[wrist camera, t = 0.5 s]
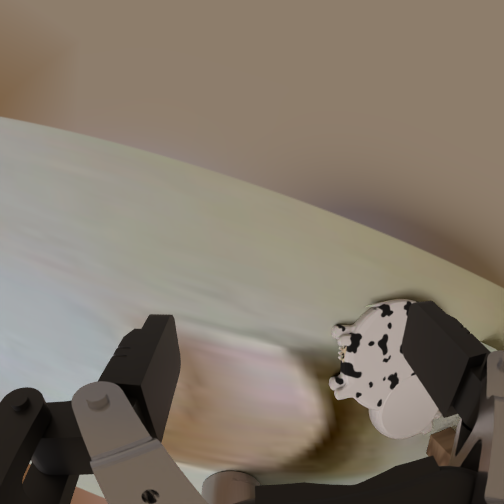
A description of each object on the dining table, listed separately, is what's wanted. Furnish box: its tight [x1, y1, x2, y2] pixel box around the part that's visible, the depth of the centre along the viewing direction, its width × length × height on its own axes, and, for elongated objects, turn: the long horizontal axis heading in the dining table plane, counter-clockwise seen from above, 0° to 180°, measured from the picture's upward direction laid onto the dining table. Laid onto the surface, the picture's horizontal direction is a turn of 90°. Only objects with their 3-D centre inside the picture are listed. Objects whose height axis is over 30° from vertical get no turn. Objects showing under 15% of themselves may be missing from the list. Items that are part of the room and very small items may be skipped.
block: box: [426, 427, 456, 466], centre depth 36 cm, size 4×4×11 cm
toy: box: [329, 299, 442, 439], centre depth 38 cm, size 22×5×20 cm
